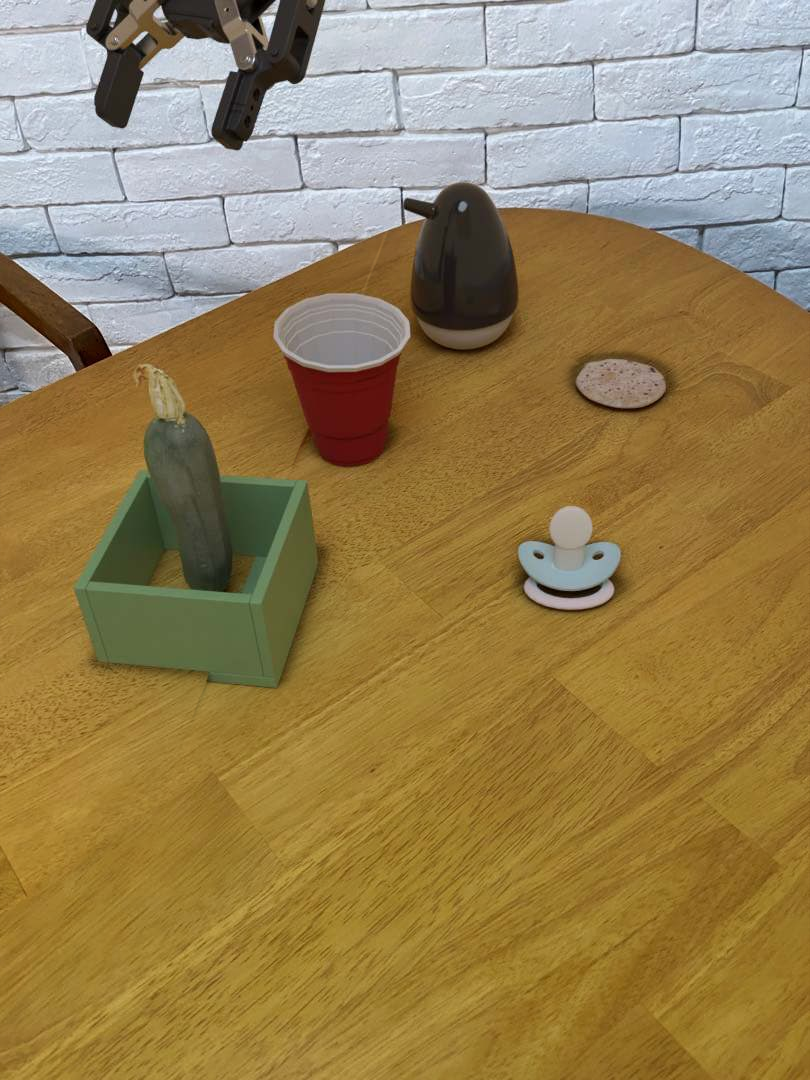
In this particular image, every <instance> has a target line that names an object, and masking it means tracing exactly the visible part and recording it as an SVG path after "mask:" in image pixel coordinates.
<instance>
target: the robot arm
mask: <svg viewBox="0 0 810 1080" xmlns="http://www.w3.org/2000/svg"><path fill="white" fill-rule="evenodd" d="M276 1H277V0H95V2H94V4H93V7H92V10H91V12H90V14H89V17H88V19H87V23H86V26H85V32H86V34H87V35H88V36H89V37H90V38H92V39H93V40H94V41H95V42H97V44H99V45H100V46H102V47H103V48H104V49H105V50H106V59H105V62H104V65H103V68H102V72H101V75H100V78H99V81H98V83H97V88H96V90H95V93H94V97H93V106H94V108H95V109H94V111H95V114H96V116H97V117H98V118H99V119H100V120H102V121H104V122H105V123H106V124H108V125H109V126H110V127H112V128H117V129H125V128H126V127H127V126H128V123H129V121H130V118H131V115H132V112H133V109H134V105H135V102H136V100H137V96H138V93H139V91H140V88H141V84H142V81H143V78H144V74H145V72H144V71H143V70H142V69H143V68H145V66H146V65H147V64H148V63H150V62H151V61H152V59H154V58H155V57H156V56H157V55H158V54H159V53H160V52H161V51H162V50H170V49H173V48H174V47H175V46H177V44H178V43H180V42H181V41H182V40H183V39H184V38H186V39H190V40H203V39H211V40H213V41H215V42H216V43H219V44H226V45H230V48H231V51H232V55H233V58H234V62H235V66H236V67H237V71H232V70H229V73H228V76H227V79H226V82H225V85H224V88H223V91H222V93H221V97H220V100H219V103H218V107H217V110H216V113H215V116H214V119H213V122H212V125H211V129H210V130H211V131H210V132H211V136H212V138H213V139H214V140H215V141H216V142H217V143H219V144H220V145H221V146H222V147H224V148H225V149H227V150H232V151H241V149H242V147H243V145H244V142H248V140H249V139H250V138H251V137H252V135H253V133H254V130H255V126H256V123H257V120H258V117H259V115H260V111H261V108H262V105H263V102H264V99H265V96H266V93H267V91H269V90H271V89H272V88H273V87H274V86H275V84H278V83H283V82H288V83H290V84H291V85H297V84H300V83H301V82H302V81H303V80H304V79H305V76H306V74H307V71H308V66H309V63H310V60H311V56H312V51H313V49H314V45H315V40H316V37H317V33H318V29H319V26H320V22H321V18H322V15H323V11H324V7H325V4H326V0H279V3H278V7H277V11H276V14H275V18H274V21H273V25H272V29H271V32H270V36H269V38H268V34H267V32H266V28H265V24H264V22H263V18H262V15H263V14H264V13H265V12H266V11H267V10H268V9H269V8H270V7H272V5H273V4H274V3H275V2H276ZM160 7H161V11H162V14H163V16H164V17H165V19H166V20H167V21H161V20H159V19H158V18H157V17H156V16H155V15H154V13H156V11H157V10H158V9H159V8H160ZM115 11H116V17H115V20H114V23H113V26H112V25H110V24H111V21H112V19H113V16H114V13H115ZM145 32H146V34H145V35H144V36H143V37H142V38H141V39H140V40H139V41H138V42H137V43H136V44H135V43H134V41H135V40H136V39H137V38H139V36H140V35H141V34H143V33H145Z"/></svg>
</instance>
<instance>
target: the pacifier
mask: <svg viewBox="0 0 810 1080" xmlns="http://www.w3.org/2000/svg"><path fill="white" fill-rule="evenodd" d="M548 531H549V535H550V536H549V537H550V538H551V540H552V542H553V543H554V545H552V544H549V543H546V542H542V541H533V540H530V541H524V542H522V543H521V544H520V545H519V547H518V549H517V556H518V557H517V558H518V561H519V563H520V565H521V567H522V568H523V570H524V571H525V573H526V574H527V575H528V576H529V577H528V578H527V579H526V580H525V583H524V585H523V589H524V592H525V594H526V596H528V598H529V599H531V600H532V601H534V602H535V603H537V604H539V605H542V606H544V607H546V608H547V607H548V608H552V609H557V610H567V611H575V610H576V611H577V610H579V611H580V610H586V609H591V608H596V607H598V606H601V605H603V604H604V603H607V602H608V601H609V600H610V599H611V598H612V597H613V595H614V593H615V587H614V584H613V582H612V581H611V580H610V578H611V577H612V576H613V574H614V573H615V572H616V570H617V569H618V567H619V564H620V563H621V556H622V554H621V549H620V547H619V546H618V545H617V544H615V543H613V542H610V541H599V542H593V543H589V544H587V543H588V542H589V541H590V539H591V537H592V534H593V521H592V519H591V517H590V515H589V514H588V512H586V510H584V509H583V508H581V507H579V506H576V505H566V506H564V507H561V508H560V509H558V510H557V511H556V512H555V513H554V514H553V515H552V517H551V520H550V523H549V530H548ZM534 554H540V555H541V556H542V557H543V558H538V557H536V556H535V555H534ZM597 555H603V556H602V557H601V558H600V559H594V557H595V556H597ZM539 584H540V585H542V586H545V587H548V588H550V589H554V590H557V591H566V592H576V591H583V590H588V589H591V588H594V587H596V586H599V587H600V589H599V590H598V591H597V592H595V593H593V594H590V595H587V596H581V597H573V598H572V597H571V598H570V597H561V596H555V595H552V594H549V593H546V592H544V591H543V590H541V589H540V588H539V587H538V585H539Z"/></svg>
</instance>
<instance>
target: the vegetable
mask: <svg viewBox="0 0 810 1080" xmlns="http://www.w3.org/2000/svg"><path fill="white" fill-rule="evenodd" d="M131 372H132V373H133V374H132V377H133V379H134V381H135V387H136V388H137V387H140V386H141V384H142V383H143V382H144V380H146V381H147V385H148V394H149V399H150V402H151V406H152V407H153V411H152V414H153V415H156V416H155V417H152V418H151V421H150V422H149V423H148V425H147V428H146V430H145V432H144V437H143V441H142V442H143V456H144V457H143V458H144V460H145V464H146V468H147V470H148V471H149V474H150V477H151V479H152V481H153V483H154V485H155V488H156V490H157V493H158V495H159V497H160V499H161V501H162V503H163V505H164V507H165V508H166V510H167V511H168V513H169V515H170V517H171V519H172V522H173V525H174V528H175V531H176V534H177V538H178V546H179V550H178V551H179V558H180V562H181V566H182V573H183V578H184V580H185V582H186V584H187V585H188V586H189V588H190V589H191V590H203V591H216V592H223V591H224V590H225V589H226V588H227V587H228V584H229V581H230V578H231V575H232V570H233V557H234V554H233V549H232V543H231V538H230V533H229V528H228V523H227V517H226V510H225V502H224V498H223V494H222V489H221V481H220V475H221V474H220V469H219V466H218V462H217V461H218V460H217V456H216V452H215V449H214V446H213V443H212V439H211V438H210V435H209V433H208V431H207V430H206V429H205V426H203V424H202V423H201V422H200V421H199V419H197V417H195V415H193V414H191V413H189V412H187V411H185V410H186V404H185V402H184V400H183V397H182V396H181V394H180V391H179V389H178V386H177V383H176V382H175V381H174V380H173V378H171V377H170V376H169V375H168V374H166V373H164V370H162V369H160V368H157V367H155V366H154V364H149V363H143V364H141V363H140V364H139V365H137V366H136V367H135V369H134V370H132V371H131Z"/></svg>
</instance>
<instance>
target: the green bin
mask: <svg viewBox="0 0 810 1080" xmlns="http://www.w3.org/2000/svg"><path fill="white" fill-rule="evenodd" d="M220 481H221V489H222V494H223V498H224V502H225V510H226V517H227V523H228V528H229V533H230V538H231V543H232V549H233V555H237V556H250V557H254V560H253V562H252V565H251V568H250V569H249V573H248V575H247V577H246V580H245V582H244V585H243V587H242V590H241V593H238V592H226V591H225V592H224V591H221V592H216V591H203V590H192V589H191V588H190V589H189V588H179V587H166V586H155V585H154V586H153V585H148V584H149V582H150V579H151V578H152V576H153V574H154V571H155V569H156V567H157V565H158V563H159V561H160V559H161V557H162V555H163V553H164V551H165V550H171V551H179V546H178V538H177V534H176V531H175V528H174V525H173V522H172V519H171V517H170V515H169V513H168V511H167V510H166V508H165V507H164V505H163V503H162V501H161V499H160V497H159V495H158V493H157V490H156V488H155V485H154V483H153V481H152V479H151V477H150V474H149V471H148V469H139V470H138V472H137V474H136V476H135V477H134V479H133V481H132V482H131V484H130V487H129V488H128V490H127V492H126V494H125V495H124V497H123V499H122V500H121V503H120V504H119V506H118V508H117V509H116V512H115V513H114V515H113V517H112V518H111V520H110V522H109V524H108V525H107V527H106V528H105V529H106V530H105V531H104V533H103V534H102V536H101V538H100V540H99V542H98V544H97V545H96V546H95V549H94V551H93V553H92V554H91V556H90V558H89V560H88V561H87V563H86V565H85V567H84V568H83V570H82V572H81V574H80V576H79V578H78V579H77V581H76V582H75V585H74V586H73V591H74V594H75V597H76V600H77V604H78V606H79V609H80V612H81V614H82V617H83V620H84V623H85V626H86V630H87V634H88V636H89V639H90V640H91V644H92V647H93V650H94V653H95V657H96V659H97V662H99V663H110V664H121V665H129V666H130V665H131V666H142V667H153V668H163V669H173V670H185V671H195V672H196V671H197V672H206V673H208V675H207V678H206V682H210V683H219V684H229V685H230V684H231V685H240V686H250V687H251V686H253V687H260V688H262V687H263V688H271V689H272V688H273V689H278V686H279V684H280V680H281V677H282V674H283V671H284V668H285V666H286V662H287V660H288V657H289V654H290V651H291V647H292V644H293V641H294V638H295V635H296V632H297V629H298V627H299V624H300V621H301V617H302V615H303V611H304V608H305V606H306V603H307V600H308V597H309V594H310V590H311V587H312V584H313V582H314V578H315V576H316V573H317V569H318V567H319V557H318V556H319V555H318V549H317V541H316V536H315V535H316V534H315V527H314V518H313V513H312V512H313V511H312V506H311V505H312V504H311V497H310V491H309V484H308V480H303V479H288V478H275V477H257V476H243V475H240V476H239V475H228V474H227V475H225V474H220Z"/></svg>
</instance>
